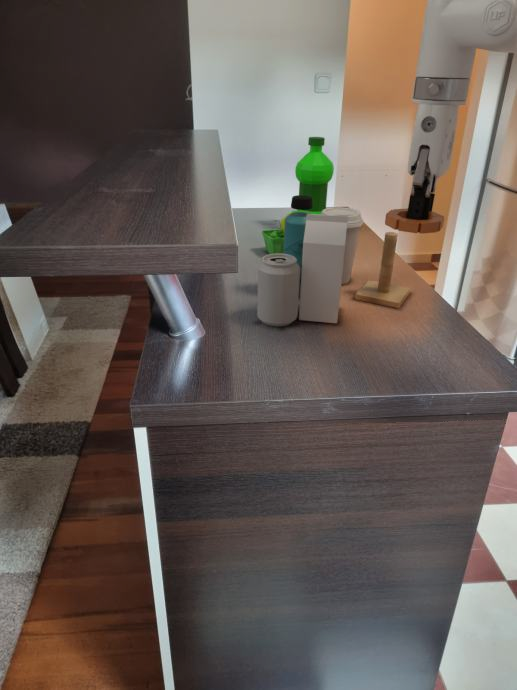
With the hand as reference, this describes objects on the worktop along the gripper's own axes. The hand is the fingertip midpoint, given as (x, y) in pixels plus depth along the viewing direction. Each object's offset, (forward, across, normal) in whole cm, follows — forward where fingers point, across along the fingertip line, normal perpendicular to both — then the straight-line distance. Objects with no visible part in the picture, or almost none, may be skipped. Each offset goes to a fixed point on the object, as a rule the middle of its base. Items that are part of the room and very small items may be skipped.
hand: (418, 218), depth 83 cm
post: (+20, +14, +7) cm, 26 cm away
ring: (0, -3, 0) cm, 3 cm away
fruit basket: (+21, +30, +36) cm, 51 cm away
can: (+21, -6, +21) cm, 30 cm away
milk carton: (+21, -1, +15) cm, 26 cm away
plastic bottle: (+21, +52, +38) cm, 68 cm away
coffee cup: (+21, +18, +19) cm, 34 cm away
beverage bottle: (+21, +6, +23) cm, 32 cm away
